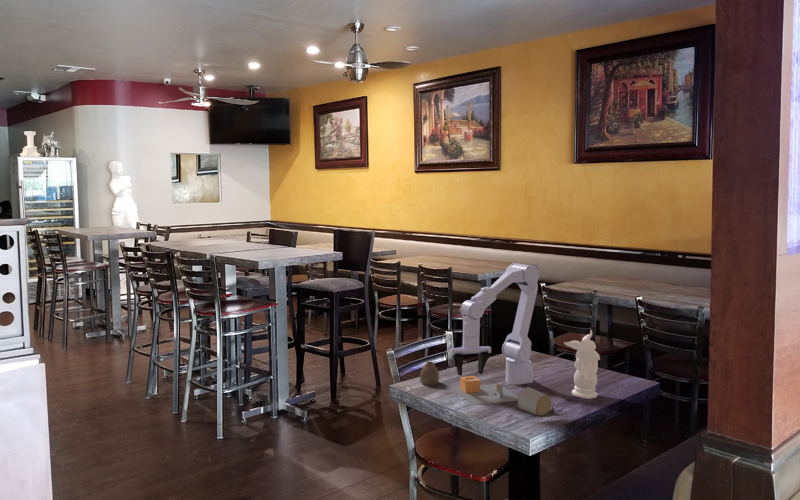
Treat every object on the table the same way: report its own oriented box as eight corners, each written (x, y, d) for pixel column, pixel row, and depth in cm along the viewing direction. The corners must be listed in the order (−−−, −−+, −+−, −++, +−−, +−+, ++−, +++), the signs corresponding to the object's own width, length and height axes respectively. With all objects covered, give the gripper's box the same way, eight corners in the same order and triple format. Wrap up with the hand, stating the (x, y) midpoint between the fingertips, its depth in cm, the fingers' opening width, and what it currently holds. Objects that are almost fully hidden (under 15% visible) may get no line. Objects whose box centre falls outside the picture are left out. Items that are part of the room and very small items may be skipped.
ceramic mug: (537, 420, 189) (538, 396, 189) (516, 412, 196) (517, 389, 195) (558, 413, 196) (559, 390, 195) (538, 406, 202) (539, 383, 202)
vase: (437, 390, 218) (438, 365, 217) (418, 388, 219) (418, 364, 218) (440, 384, 224) (440, 360, 224) (421, 382, 226) (421, 359, 225)
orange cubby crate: (474, 387, 217) (474, 375, 217) (480, 391, 212) (480, 379, 212) (459, 388, 216) (459, 376, 216) (465, 393, 211) (465, 381, 210)
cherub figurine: (592, 402, 207) (595, 338, 204) (556, 395, 214) (558, 333, 211) (602, 391, 217) (604, 330, 215) (567, 385, 224) (569, 326, 221)
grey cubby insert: (499, 395, 209) (500, 382, 208) (502, 397, 207) (503, 384, 206) (496, 395, 208) (496, 382, 208) (499, 397, 206) (499, 384, 206)
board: (499, 386, 222) (499, 383, 222) (522, 403, 205) (522, 400, 204) (452, 390, 217) (452, 387, 217) (472, 408, 199) (472, 404, 199)
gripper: (485, 331, 218) (484, 369, 219) (447, 333, 214) (446, 372, 215) (494, 336, 211) (493, 375, 213) (454, 338, 207) (453, 378, 209)
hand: (470, 374), depth 214 cm, fingers open, 7 cm apart
